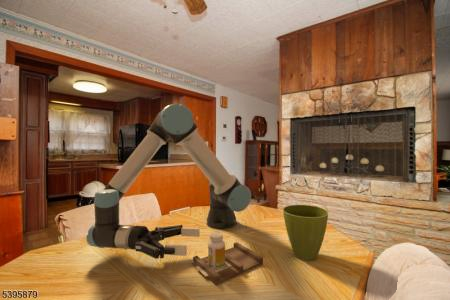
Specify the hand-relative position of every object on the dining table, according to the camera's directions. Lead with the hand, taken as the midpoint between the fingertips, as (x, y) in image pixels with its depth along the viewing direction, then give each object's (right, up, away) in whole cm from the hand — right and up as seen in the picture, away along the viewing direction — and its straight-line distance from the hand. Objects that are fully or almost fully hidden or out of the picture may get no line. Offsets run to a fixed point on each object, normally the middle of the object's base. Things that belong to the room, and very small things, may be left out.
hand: (193, 240), depth 70 cm
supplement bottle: (+8, -8, -1) cm, 11 cm away
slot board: (+11, -8, +1) cm, 14 cm away
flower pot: (+39, -8, +6) cm, 40 cm away
